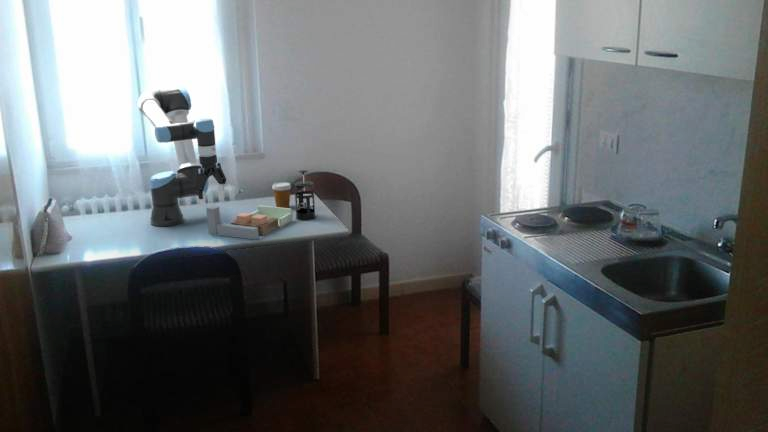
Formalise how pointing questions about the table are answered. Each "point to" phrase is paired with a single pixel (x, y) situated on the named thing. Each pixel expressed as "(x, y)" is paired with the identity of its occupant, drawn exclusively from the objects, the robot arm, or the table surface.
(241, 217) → the tile
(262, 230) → the brown wooden board
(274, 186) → the disposable coffee cup
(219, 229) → the scraper
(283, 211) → the tray
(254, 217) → the tile
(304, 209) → the french press
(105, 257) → the table surface
